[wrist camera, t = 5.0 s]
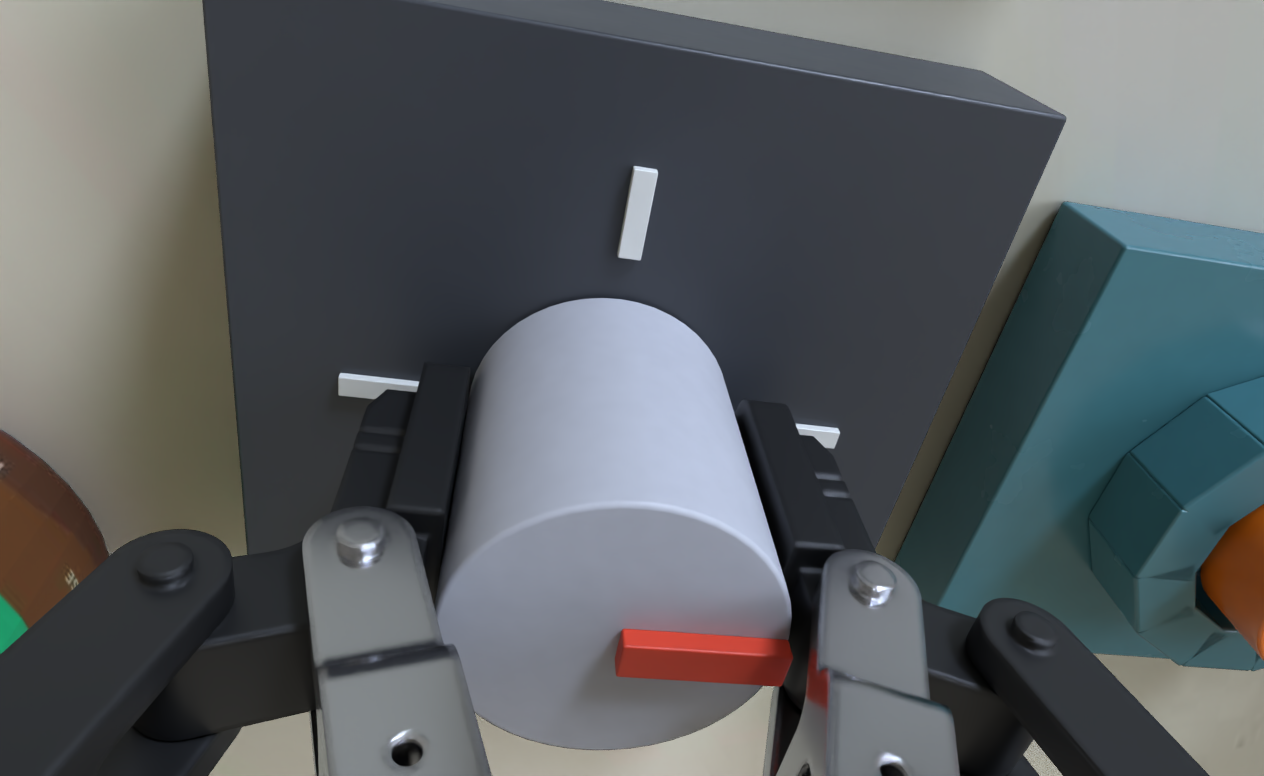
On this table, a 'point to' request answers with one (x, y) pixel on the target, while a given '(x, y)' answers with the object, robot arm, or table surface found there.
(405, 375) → the panel
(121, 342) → the table surface
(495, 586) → the program knob
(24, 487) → the food container
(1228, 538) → the button
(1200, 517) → the block
